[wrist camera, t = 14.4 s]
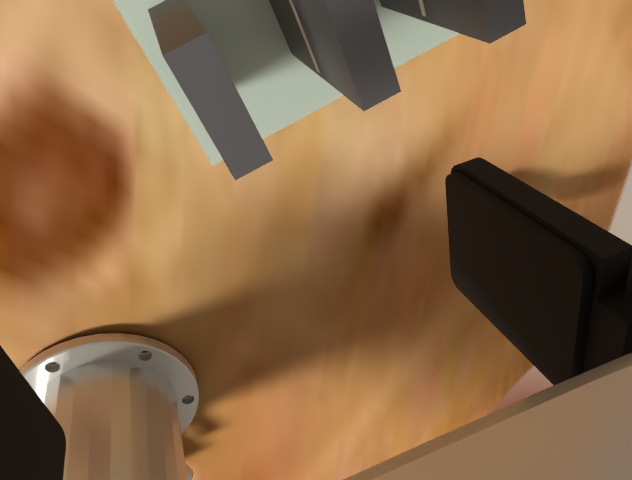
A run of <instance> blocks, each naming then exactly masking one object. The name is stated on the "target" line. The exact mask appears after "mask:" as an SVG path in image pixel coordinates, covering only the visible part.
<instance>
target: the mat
mask: <svg viewBox="0 0 632 480" xmlns="http://www.w3.org/2000/svg"><path fill="white" fill-rule="evenodd" d="M163 1H165V0H113V2H114V4H115V5H116V7H117V9H118V10H119V12H120V14H121V15H122V17H123V19H124V20H125V22H126V24H127V25H128V27H129V28H130V30H131V32H132V33H133V35H134V37H135V38H136V40H137V42H138V43H139V45H140V47H141V48H142V50H143V52H144V53H145V55H146V57H147V58H148V60H149V62H150V63H151V65H152V66H153V68H154V70H155V71H156V73H157V75H158V76H159V78H160V80H161V81H162V83H163V85H164V86H165V88H166V90H167V91H168V93H169V95H170V96H171V98H172V99H173V101H174V103H175V104H176V106H177V108H178V109H179V111H180V113H181V114H182V116H183V118H184V119H185V121H186V123H187V124H188V126H189V128H190V129H191V131H192V133H193V134H194V136H195V137H196V139H197V141H198V142H199V144H200V146H201V147H202V149H203V151H204V152H205V154H206V156H207V157H208V159H209V161H210V162H211V164H212V166H213V165H215V164H217V163H219V162H221V161H223V158H222V157H221V155H220V153H219V151H218V150H217V148H216V146H215V145H214V143H213V141H212V139H211V138H210V136H209V134H208V133H207V131H206V129H205V128H204V126H203V124H202V122H201V121H200V119H199V117H198V116H197V114H196V112H195V110H194V109H193V107H192V105H191V104H190V102H189V100H188V98H187V97H186V95H185V93H184V92H183V90H182V88H181V86H180V85H179V83H178V81H177V80H176V78H175V76H174V75H173V73H172V71H171V69H170V68H169V66H168V64H167V63H166V61H165V59H164V57H163V56H162V53H161V50H160V46H159V43H158V40H157V37H156V34H155V31H154V28H153V24H152V21H151V18H150V15H149V12H148V9H150V8H152V7H154V6H156V5H157V4H159V3H161V2H163ZM183 1H184V3H185V4H186V5H187V6H188V8H189V9H190V10H191V12H192V13H193V14H194V15H195V17H196V18H197V19H198V21H199V22H200V23H201V25H202V26H203V27H204V28H205V30H206V31H207V32H208V34H209V36H210V38H211V40H212V42H213V44H214V46H215V48H216V50H217V52H218V54H219V56H220V58H221V60H222V62H223V64H224V65H225V67H226V69H227V71H228V73H229V75H230V77H231V79H232V81H233V83H234V85H235V87H236V89H237V91H238V93H239V95H240V97H241V99H242V101H243V102H244V104H245V106H246V108H247V110H248V112H249V114H250V116H251V118H252V120H253V122H254V124H255V126H256V128H257V130H258V132H259V134H260V136H261V137H262V139H264V138H266V137H268V136H269V135H271V134H273V133H275V132H277V131H279V130H281V129H282V128H284V127H286V126H288V125H290V124H292V123H294V122H296V121H297V120H299V119H301V118H303V117H305V116H307V115H309V114H311V113H312V112H314V111H316V110H318V109H320V108H322V107H324V106H325V105H327V104H329V103H331V102H333V101H335V100H337V99H339V98H340V97H342V96H344V95H343V94H342V93H340V92H339V91H338V90H337V89H335V88H334V87H333V86H332V85H330V84H329V83H328V82H326V81H325V80H324V79H323V78H321V77H320V76H319V75H318V74H316V73H315V72H314V71H312V70H311V69H310V68H309V67H307V66H306V65H305V64H304V63H302V62H301V61H300V60H299V59H297V58H296V57H295V56H293V55H292V54H291V51H290V49H289V47H288V44H287V42H286V39H285V37H284V35H283V32H282V30H281V28H280V25H279V23H278V20H277V18H276V16H275V13H274V11H273V9H272V6H271V4H270V2H269V0H183ZM374 3H375V7H376V10H377V13H378V17H379V20H380V23H381V27H382V30H383V33H384V37H385V40H386V43H387V47H388V50H389V53H390V57H391V60H392V63H393V67H394V69H395V68H397V67H398V66H400V65H402V64H404V63H406V62H408V61H410V60H411V59H413V58H415V57H417V56H419V55H421V54H423V53H425V52H426V51H428V50H430V49H432V48H434V47H436V46H438V45H440V44H441V43H443V42H445V41H447V40H449V39H451V38H453V37H454V36H456V35H458V34H460V33H458V32H455V31H452V30H449V29H446V28H443V27H440V26H437V25H434V24H431V23H428V22H425V21H422V20H419V19H416V18H413V17H410V16H408V15H405V14H402V13H399V12H396V11H393V10H390V9H387V8H384V7H381V4H380V0H374Z"/></svg>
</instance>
